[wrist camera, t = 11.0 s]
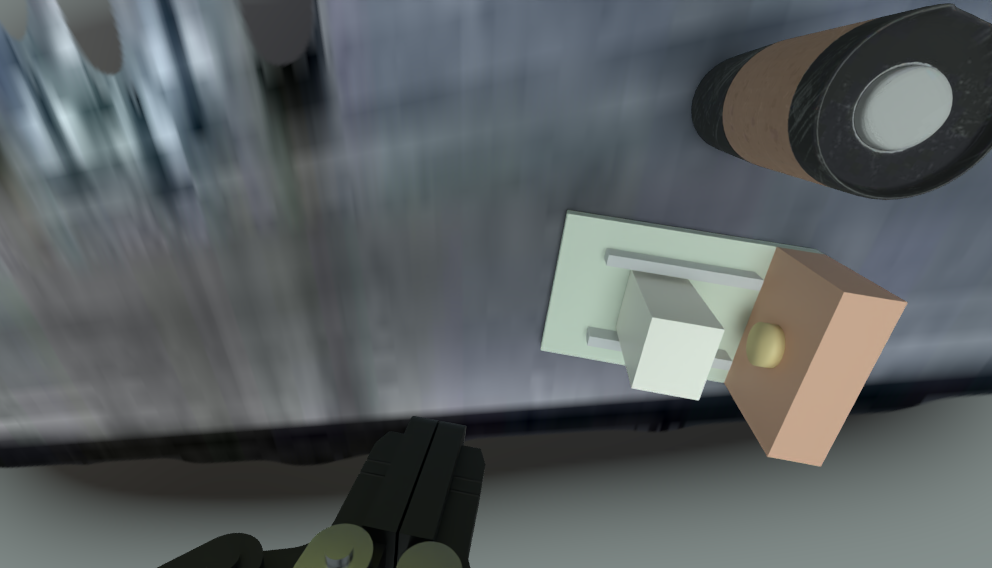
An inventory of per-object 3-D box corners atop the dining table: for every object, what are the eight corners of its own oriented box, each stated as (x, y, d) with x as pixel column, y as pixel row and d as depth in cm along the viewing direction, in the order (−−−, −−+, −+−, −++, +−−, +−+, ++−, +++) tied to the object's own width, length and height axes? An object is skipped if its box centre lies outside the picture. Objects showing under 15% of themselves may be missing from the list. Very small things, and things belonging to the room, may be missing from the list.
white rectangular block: (615, 327, 44) (631, 388, 35) (631, 268, 41) (652, 317, 32) (668, 336, 43) (698, 400, 34) (687, 278, 41) (724, 329, 32)
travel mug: (700, 167, 39) (827, 228, 21) (676, 76, 37) (796, 54, 18) (797, 131, 37) (1032, 163, 19) (778, 33, 35) (1025, -40, 17)
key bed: (541, 342, 47) (536, 413, 37) (567, 209, 42) (570, 247, 31) (759, 381, 46) (820, 466, 35) (815, 249, 40) (907, 302, 30)
